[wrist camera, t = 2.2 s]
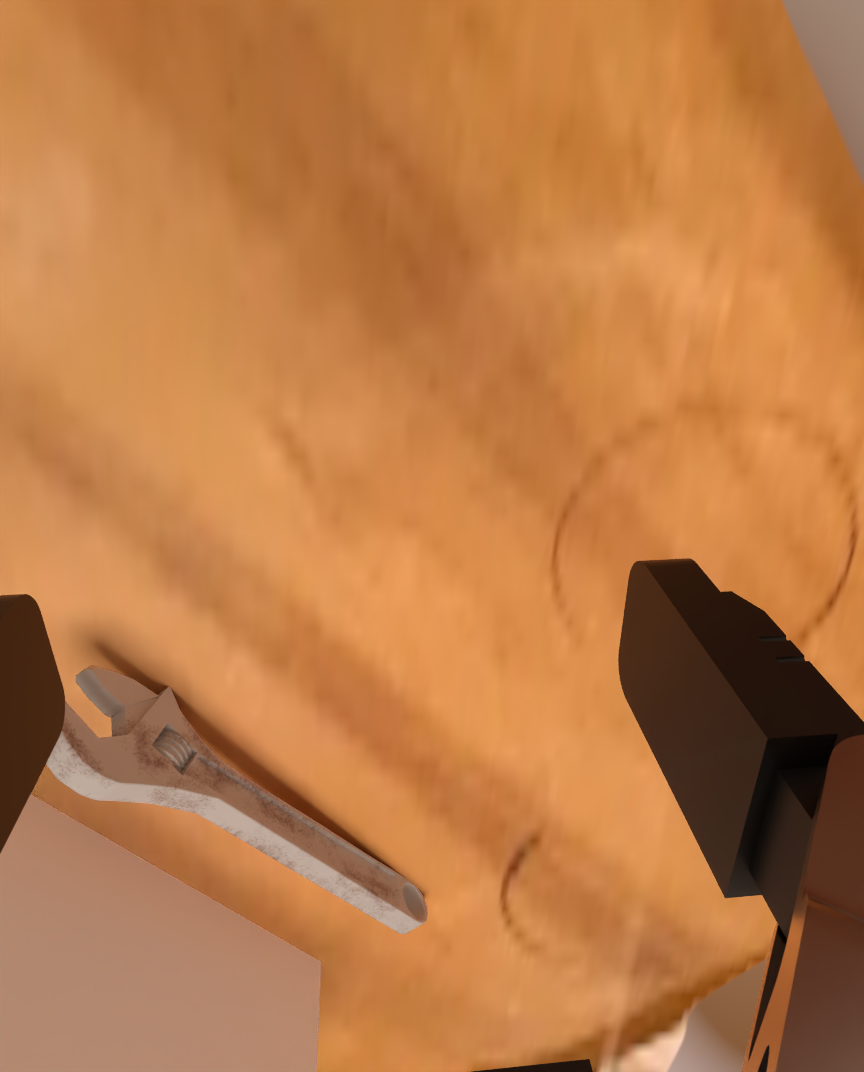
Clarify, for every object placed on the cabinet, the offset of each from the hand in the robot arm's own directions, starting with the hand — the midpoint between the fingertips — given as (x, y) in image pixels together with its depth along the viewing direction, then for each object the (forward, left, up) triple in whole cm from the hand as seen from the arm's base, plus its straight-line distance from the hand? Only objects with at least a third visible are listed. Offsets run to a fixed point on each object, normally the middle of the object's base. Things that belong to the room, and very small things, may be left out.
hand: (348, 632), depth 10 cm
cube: (-22, -44, -27) cm, 56 cm away
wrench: (-7, -29, -27) cm, 40 cm away
